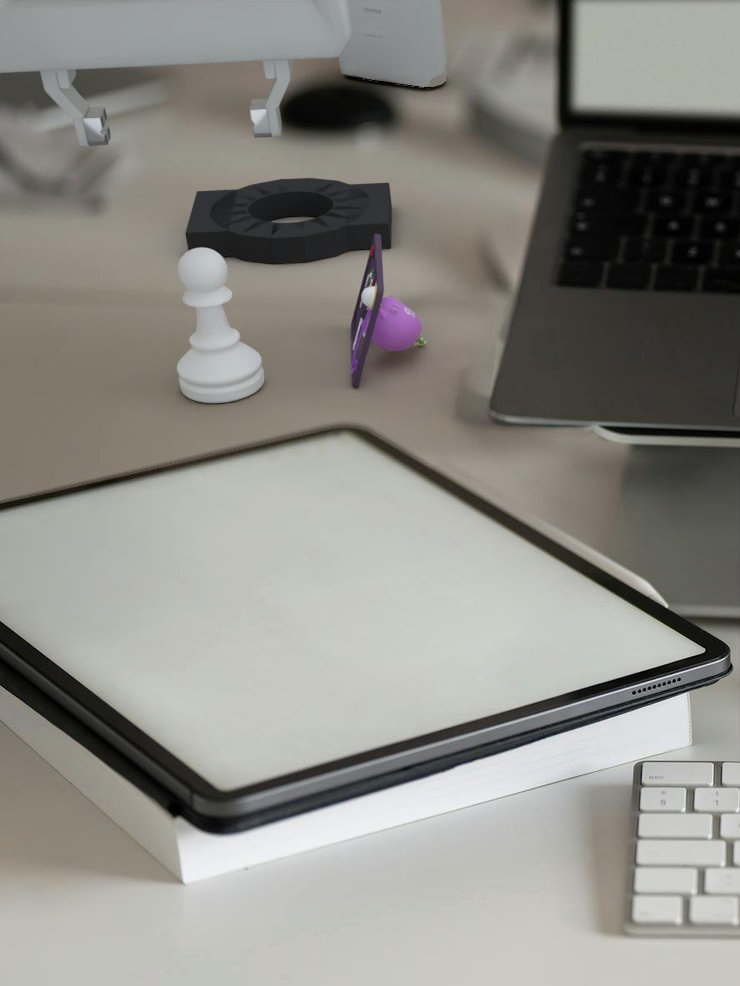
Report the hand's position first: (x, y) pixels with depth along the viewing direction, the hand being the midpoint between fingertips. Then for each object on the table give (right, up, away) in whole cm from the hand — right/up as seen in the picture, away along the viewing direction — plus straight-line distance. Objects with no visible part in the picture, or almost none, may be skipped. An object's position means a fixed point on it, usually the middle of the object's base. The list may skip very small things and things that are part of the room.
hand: (182, 138), depth 96 cm
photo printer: (-2, +19, +59) cm, 62 cm away
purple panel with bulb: (+9, -11, +13) cm, 19 cm away
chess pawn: (-1, -13, +9) cm, 16 cm away
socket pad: (-2, 0, +29) cm, 29 cm away
